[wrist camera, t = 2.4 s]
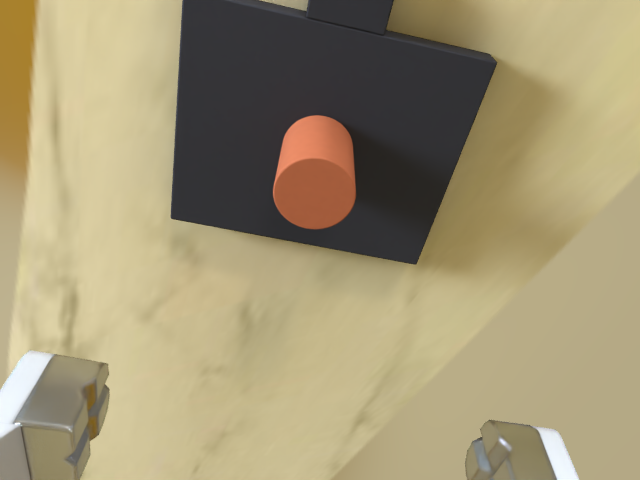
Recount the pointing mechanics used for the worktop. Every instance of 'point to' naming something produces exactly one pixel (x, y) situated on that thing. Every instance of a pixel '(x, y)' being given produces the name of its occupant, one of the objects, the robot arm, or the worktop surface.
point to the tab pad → (320, 77)
